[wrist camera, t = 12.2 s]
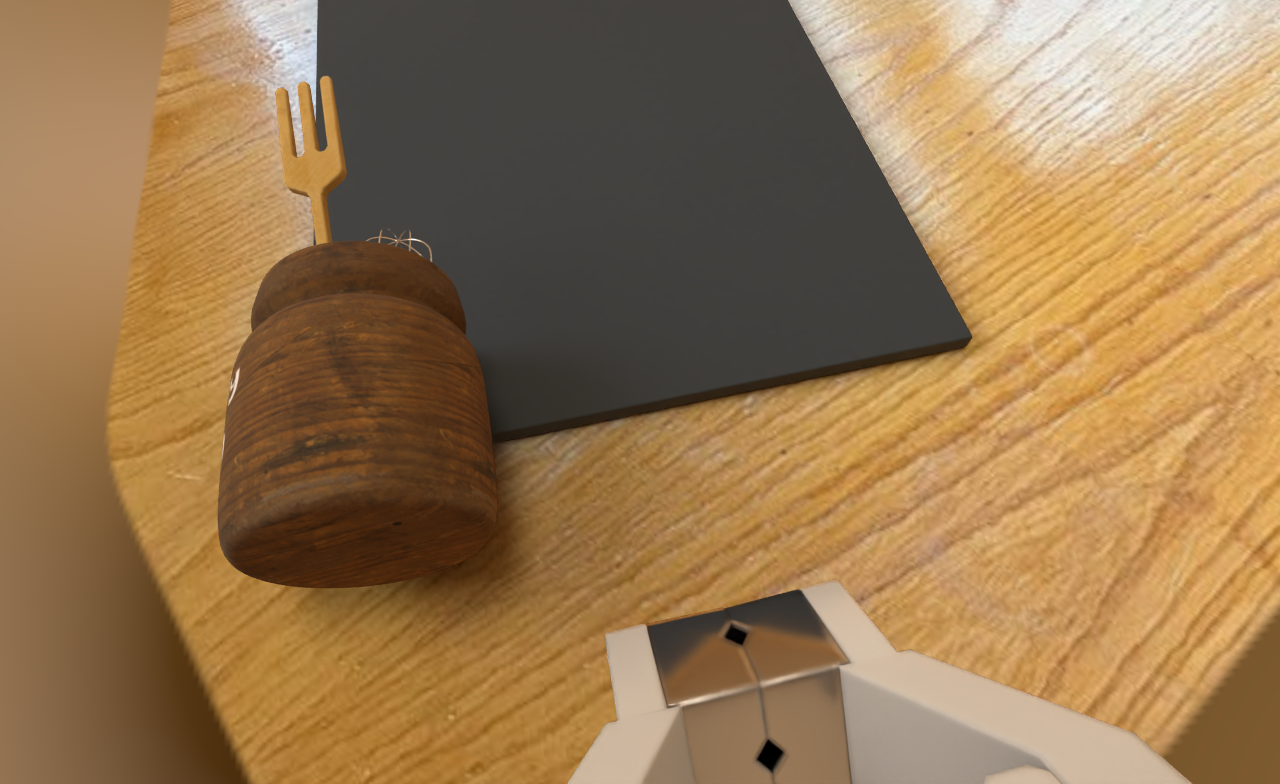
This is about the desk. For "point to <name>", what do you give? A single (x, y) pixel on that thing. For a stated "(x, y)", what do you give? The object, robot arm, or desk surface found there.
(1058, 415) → the desk surface
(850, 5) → the desk surface
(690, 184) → the desk mat
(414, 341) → the utensil holder
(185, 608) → the desk surface
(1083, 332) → the desk surface
